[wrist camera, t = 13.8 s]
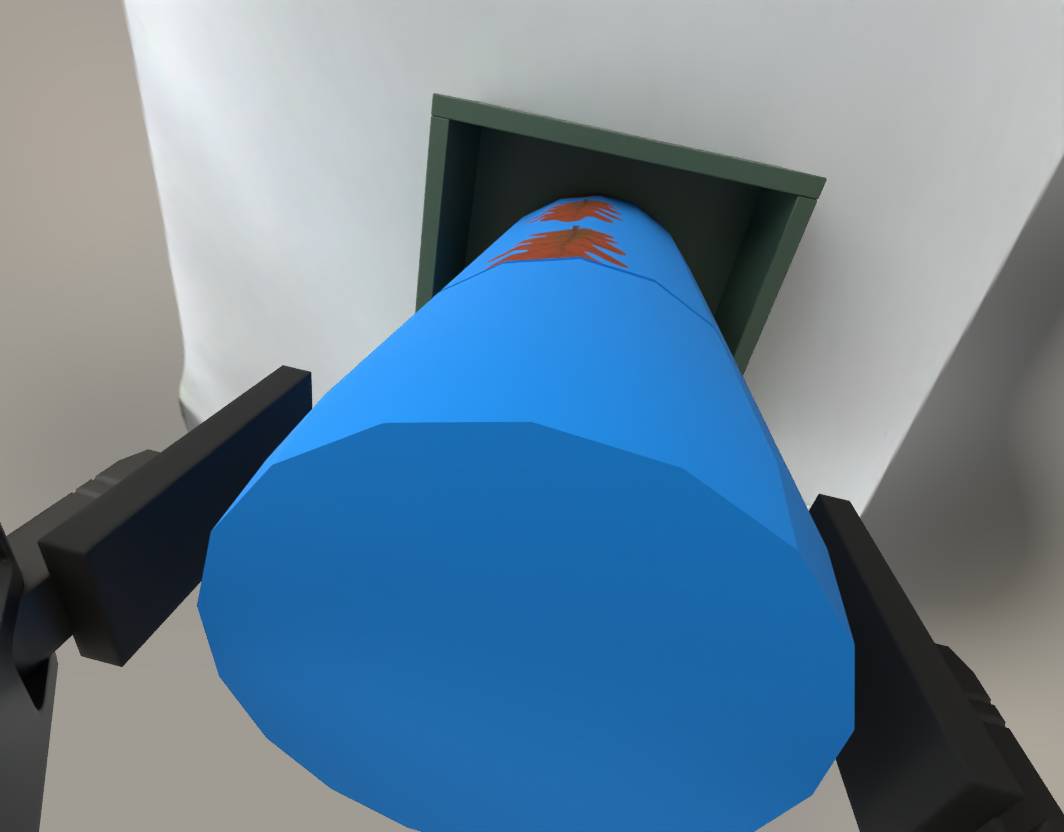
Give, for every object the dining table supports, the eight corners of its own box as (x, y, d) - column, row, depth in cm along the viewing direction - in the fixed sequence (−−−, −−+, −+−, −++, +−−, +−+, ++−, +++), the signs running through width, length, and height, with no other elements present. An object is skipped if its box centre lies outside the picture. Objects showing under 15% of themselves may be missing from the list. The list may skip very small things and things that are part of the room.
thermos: (662, 389, 33) (747, 914, 11) (491, 365, 34) (251, 805, 12) (706, 199, 27) (1040, 479, 6) (501, 177, 28) (99, 342, 6)
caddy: (473, 100, 27) (432, 92, 22) (782, 167, 27) (827, 178, 21) (441, 377, 35) (405, 427, 29) (680, 434, 35) (691, 496, 29)
